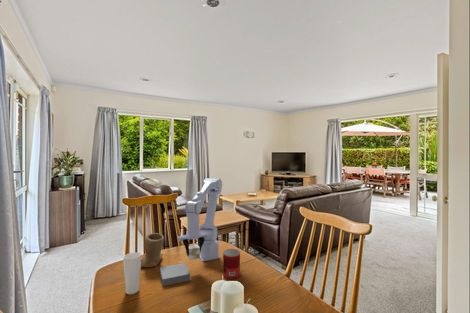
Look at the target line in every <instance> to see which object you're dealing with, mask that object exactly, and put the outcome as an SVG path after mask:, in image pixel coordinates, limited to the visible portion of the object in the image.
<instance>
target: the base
mask: <svg viewBox="0 0 470 313" xmlns="http://www.w3.org/2000/svg"><path fill="white" fill-rule="evenodd" d="M159 275H160V276H159V277H160V280H161V285H162V287H166V286H170V285H176V284H181V283H184V282H189V281H191V272H190V270H189V268H188V266H187V264H186V262H182V263H178V264H177V263H176V264H171V265H165V266H160V267H159Z"/></svg>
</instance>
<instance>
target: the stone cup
mask: <svg viewBox="0 0 470 313" xmlns="http://www.w3.org/2000/svg"><path fill="white" fill-rule="evenodd" d="M144 240H145V241H144V246H143V247H144V252H145V254H144V255H143V257H141V268H151V267H156V266H157V265H158V264H159V263H160V261H161V260H162V258H163V256H164V255H163V253H162V250H163V246H164V242H165V237H164V235H163V234H161V233H158V232H153V233H149V234H148V235H146V237H145V238H144Z"/></svg>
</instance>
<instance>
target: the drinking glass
mask: <svg viewBox="0 0 470 313" xmlns="http://www.w3.org/2000/svg"><path fill="white" fill-rule="evenodd" d="M141 260H142V254H141V253H140V252H134V251H133V252H129V253H127V254H124V255H123V275H124V276H123V277H124V285H125V290H124V291H125V293H126V294H128V295H134V294H137V293H138V292H139V291H140V284H141V283H140V281H141V268H142V267H141Z"/></svg>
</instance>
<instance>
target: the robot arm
mask: <svg viewBox="0 0 470 313" xmlns="http://www.w3.org/2000/svg"><path fill="white" fill-rule="evenodd" d="M202 185H203V186H202V187H201V189H200V190H199V191H197V192H196V193H195V194H194V196H193V197H192V199H191V200H189V201H188V202H186V203H185V206H184V212H185V214H186V215H185V216H186V217H187V220H186V222H187V223H186V225H187V226H186V228H187V233H186V234H183V235H178V236H177V241H178V242H182V243H183V245H184V248H185V251H186V252H185V253H186V256H187V257H188V256H189V245H190V242H189V240H197V245H198V246H199V247H200V258H199V259H200V260H201V262H207V261H213V260H218V259H220V254H219V252H220V251H219V250H220V245H219V242H218V239H217V238H218V228H217V226H216V225H215V224H214V223H215V222H214V221H215V216H216V210H217V204H218V198H219V196H220V195H221V194H222V189H223V180H222V179H221V178H208V177H206V178H204V180H203V181H202ZM207 194H208V195H209V198H208V202H207V206H206V213H205V220H204V222H203V224H201V225H200V214H201V212H202V208H203V205H204V203H205V201H206V200H207Z"/></svg>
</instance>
